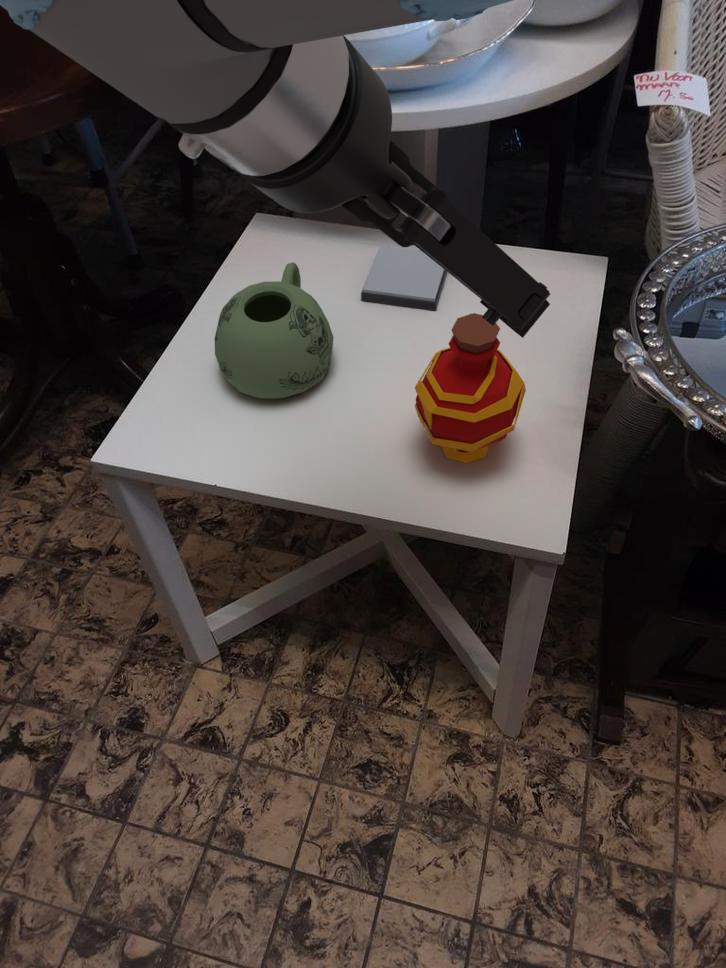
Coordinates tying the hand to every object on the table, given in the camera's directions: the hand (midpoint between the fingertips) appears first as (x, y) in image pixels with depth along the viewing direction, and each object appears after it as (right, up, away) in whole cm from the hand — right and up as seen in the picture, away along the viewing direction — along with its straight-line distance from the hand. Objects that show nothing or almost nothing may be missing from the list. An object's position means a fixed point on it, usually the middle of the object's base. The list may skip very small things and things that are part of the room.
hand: (460, 263), depth 53 cm
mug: (-16, -1, +34) cm, 37 cm away
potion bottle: (+4, -11, +25) cm, 28 cm away
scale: (-1, +9, +41) cm, 42 cm away
